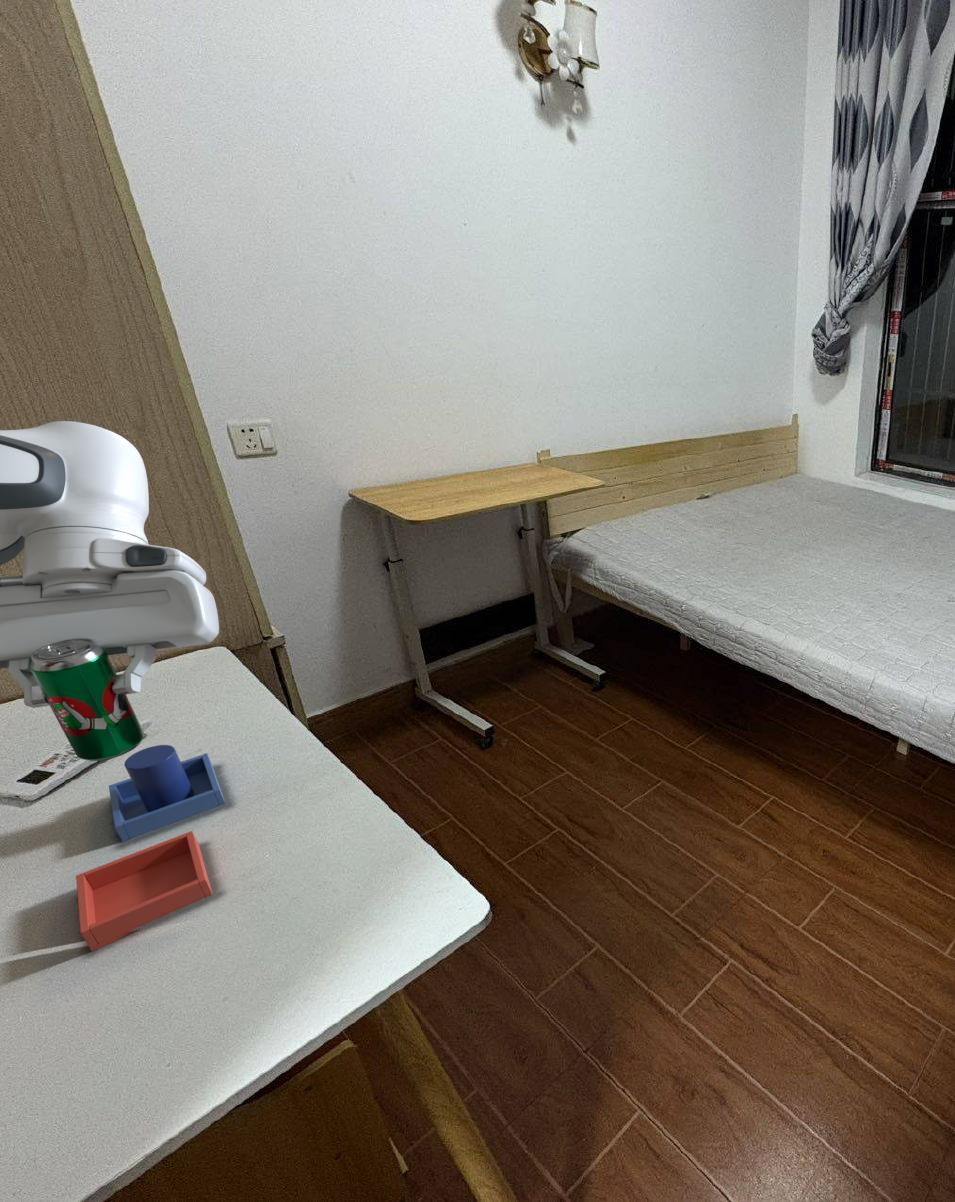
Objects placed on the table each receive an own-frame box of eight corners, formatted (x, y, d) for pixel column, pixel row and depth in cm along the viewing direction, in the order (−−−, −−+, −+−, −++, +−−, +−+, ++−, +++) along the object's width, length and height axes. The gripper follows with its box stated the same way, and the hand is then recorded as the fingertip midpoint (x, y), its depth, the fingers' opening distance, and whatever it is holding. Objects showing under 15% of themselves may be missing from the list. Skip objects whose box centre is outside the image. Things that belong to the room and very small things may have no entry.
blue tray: (123, 845, 74) (114, 827, 73) (117, 802, 80) (108, 785, 79) (226, 806, 81) (219, 789, 79) (214, 769, 86) (207, 752, 85)
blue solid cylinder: (138, 817, 78) (115, 771, 74) (157, 792, 81) (136, 747, 78) (184, 810, 79) (163, 765, 76) (200, 786, 83) (181, 742, 80)
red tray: (91, 951, 63) (80, 933, 62) (86, 893, 69) (75, 875, 68) (214, 897, 69) (205, 879, 68) (200, 847, 75) (192, 830, 74)
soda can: (135, 727, 71) (89, 630, 65) (154, 744, 68) (109, 646, 63) (70, 751, 67) (16, 651, 61) (89, 771, 64) (34, 668, 59)
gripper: (-83, 570, 61) (-98, 714, 57) (198, 548, 69) (200, 673, 66) (-30, 593, 66) (-41, 726, 63) (223, 571, 75) (227, 687, 71)
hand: (84, 699), depth 64 cm, fingers closed on soda can, 5 cm apart
